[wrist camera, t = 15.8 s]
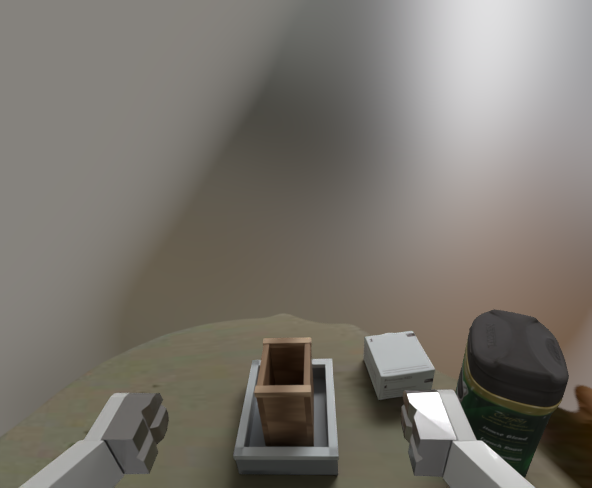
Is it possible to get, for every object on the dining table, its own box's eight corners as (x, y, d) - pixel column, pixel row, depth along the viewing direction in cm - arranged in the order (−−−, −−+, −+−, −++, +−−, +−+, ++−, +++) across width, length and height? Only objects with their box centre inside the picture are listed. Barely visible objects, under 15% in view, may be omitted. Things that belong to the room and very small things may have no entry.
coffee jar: (526, 511, 34) (589, 390, 25) (443, 480, 37) (473, 362, 28) (514, 427, 42) (559, 311, 33) (446, 406, 45) (470, 296, 36)
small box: (378, 402, 46) (379, 376, 44) (362, 359, 53) (363, 335, 51) (432, 394, 47) (436, 369, 44) (409, 352, 54) (412, 329, 51)
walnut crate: (314, 389, 48) (311, 337, 43) (314, 447, 40) (310, 392, 36) (272, 390, 48) (263, 338, 43) (264, 447, 41) (254, 392, 36)
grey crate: (332, 377, 50) (331, 358, 48) (338, 475, 38) (338, 456, 36) (256, 378, 51) (252, 360, 49) (238, 475, 39) (233, 456, 37)
